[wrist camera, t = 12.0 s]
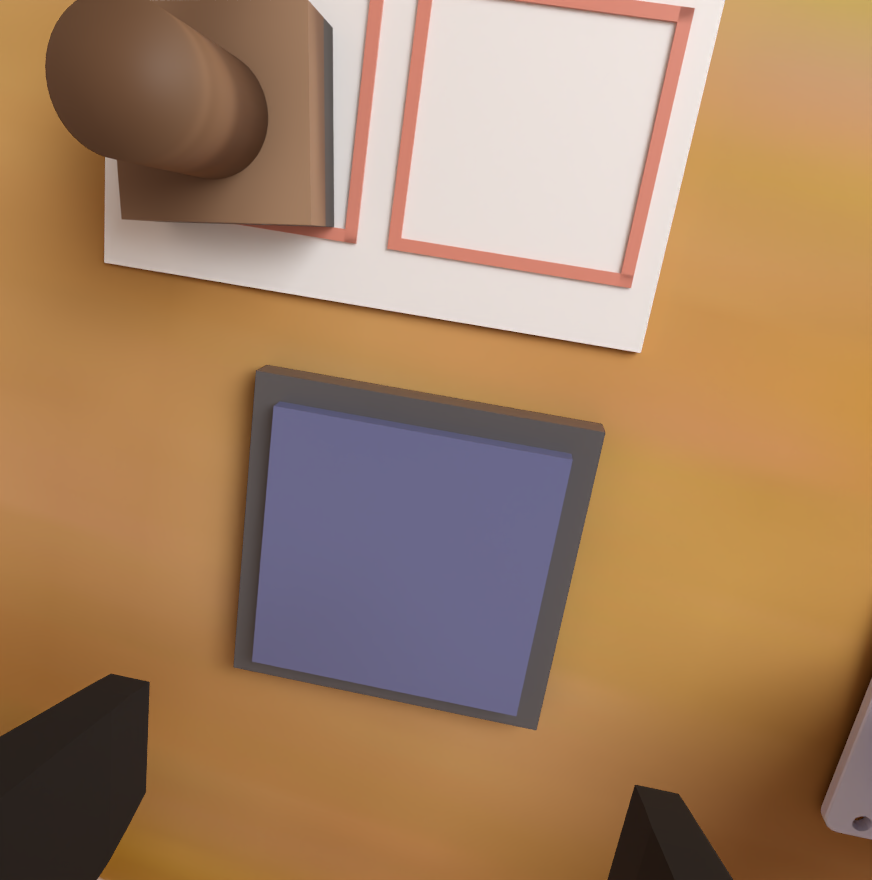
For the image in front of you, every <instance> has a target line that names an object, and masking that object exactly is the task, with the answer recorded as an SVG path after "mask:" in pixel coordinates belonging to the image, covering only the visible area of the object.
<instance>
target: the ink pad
mask: <svg viewBox="0 0 872 880" xmlns="http://www.w3.org/2000/svg"><path fill="white" fill-rule="evenodd" d="M604 436H605V430H604V428H603V425H602V424H599V423H594V422H588V421H582V420H577V419H571V418H565V417H560V416H554V415H548V414H543V413H537V412H531V411H526V410H520V409H514V408H509V407H503V406H497V405H492V404H486V403H480V402H475V401H469V400H463V399H458V398H452V397H446V396H440V395H435V394H429V393H423V392H418V391H412V390H406V389H401V388H395V387H389V386H384V385H378V384H372V383H367V382H361V381H355V380H350V379H344V378H338V377H333V376H327V375H321V374H316V373H310V372H304V371H299V370H293V369H287V368H282V367H276V366H270V365H266V366H264V367H262V368H260V369H258V370H256V379H255V392H254V405H253V418H252V431H251V445H250V458H249V471H248V484H247V497H246V511H245V524H244V537H243V550H242V563H241V576H240V590H239V603H238V616H237V629H236V642H235V656H234V667H235V668H240V669H244V670H249V671H254V672H259V673H264V674H268V675H273V676H278V677H283V678H288V679H292V680H297V681H302V682H307V683H312V684H316V685H321V686H326V687H331V688H336V689H340V690H345V691H350V692H355V693H360V694H365V695H369V696H374V697H379V698H384V699H389V700H393V701H398V702H403V703H408V704H413V705H417V706H422V707H427V708H432V709H437V710H441V711H446V712H451V713H456V714H461V715H465V716H470V717H475V718H480V719H485V720H489V721H494V722H499V723H504V724H509V725H513V726H518V727H523V728H528V729H533V730H537V725H538V721H539V717H540V712H541V708H542V704H543V699H544V695H545V691H546V686H547V682H548V678H549V673H550V669H551V665H552V660H553V656H554V652H555V648H556V643H557V639H558V635H559V630H560V626H561V622H562V617H563V613H564V609H565V604H566V600H567V596H568V591H569V587H570V583H571V578H572V574H573V570H574V566H575V561H576V557H577V553H578V548H579V544H580V540H581V535H582V531H583V527H584V522H585V518H586V514H587V509H588V505H589V501H590V497H591V492H592V488H593V484H594V479H595V475H596V471H597V466H598V462H599V458H600V453H601V449H602V445H603V440H604Z"/></svg>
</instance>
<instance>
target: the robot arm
mask: <svg viewBox="0 0 872 880" xmlns="http://www.w3.org/2000/svg"><path fill="white" fill-rule="evenodd" d="M149 684H150V682H147V681H143V680H138V679H133V678H128V677H124V676H119V675H114V674H110V675H108V676H106V677H104V678H102V679H100V680H98V681H97V682H95V683H93V684H91V685H89V686H88V687H86V688H84V689H82V690H81V691H79V692H77V693H75V694H74V695H72V696H70V697H69V698H67V699H65V700H63V701H62V702H60V703H58V704H56V705H55V706H53V707H51V708H50V709H48V710H46V711H44V712H43V713H41V714H39V715H38V716H36V717H34V718H32V719H31V720H29V721H27V722H25V723H24V724H22V725H20V726H18V727H16V728H15V729H13V730H11V731H9V732H8V733H6V734H4V735H2V736H1V737H0V880H97V879H98V877H99V876H100V874H101V873H102V871H103V870H104V868H105V867H106V865H107V863H108V862H109V860H110V859H111V857H112V855H113V853H114V851H115V849H116V848H117V846H118V844H119V842H120V840H121V838H122V837H123V835H124V833H125V831H126V829H127V827H128V825H129V824H130V822H131V820H132V818H133V816H134V814H135V812H136V810H137V808H138V806H139V804H140V802H141V800H142V798H143V797H144V795H145V793H146V770H147V741H148V713H149ZM821 814H822V817H823V819H824V821H825V823H826V825H827V826H828V827H829V828H830V829H831V830H833V831H836V832H838V833H843V834H848V835H852V836H857V837H862V838H867V839H871V840H872V679H871V681H870V684H869V686H868V689H867V691H866V694H865V697H864V699H863V702H862V704H861V707H860V709H859V712H858V714H857V717H856V720H855V722H854V725H853V727H852V730H851V732H850V735H849V737H848V740H847V743H846V745H845V748H844V750H843V753H842V755H841V758H840V760H839V763H838V766H837V768H836V771H835V773H834V776H833V778H832V781H831V783H830V786H829V789H828V791H827V794H826V796H825V799H824V801H823V804H822V806H821ZM860 816H864V817H863V818H862V819H860V820H854V819H855V818H857V817H860ZM608 880H733V879H732V877H731V875H730V874H729V872H728V871H727V869H726V868H725V866H724V865H723V863H722V861H721V860H720V858H719V857H718V855H717V854H716V852H715V850H714V849H713V847H712V846H711V844H710V842H709V841H708V839H707V838H706V836H705V834H704V833H703V831H702V830H701V828H700V827H699V825H698V823H697V822H696V820H695V819H694V817H693V815H692V814H691V812H690V811H689V809H688V808H687V806H686V805H685V803H684V801H683V800H682V798H681V797H680V795H679V794H677V793H672V792H667V791H662V790H658V789H653V788H648V787H644V786H639V785H635V787H634V790H633V794H632V797H631V800H630V804H629V807H628V811H627V814H626V818H625V821H624V825H623V828H622V832H621V835H620V838H619V842H618V845H617V849H616V852H615V856H614V859H613V863H612V866H611V869H610V873H609V876H608Z"/></svg>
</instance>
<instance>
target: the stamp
mask: <svg viewBox="0 0 872 880" xmlns="http://www.w3.org/2000/svg"><path fill="white" fill-rule="evenodd" d="M45 68H46V80H47V87H48V91H49V94H50V98H51V101H52V103H53V106H54V108H55V110H56V112H57V114H58V116H59V118H60V120H61V121H62V123H63V124H64V126H65V127H66V128H67V130H68V131H69V132H70V133H71V134H72V135H73V136H74V137H75V138H76V139H77V140H78V141H79V142H80V143H81V144H83V145H84V146H85V147H87V148H88V149H90V150H91V151H93V152H95V153H97V154H99V155H102V156H104V157H107V158H111V159H115V160H117V170H118V182H119V194H120V206H121V218H122V219H125V220H140V221H155V222H178V223H211V224H245V225H278V226H312V227H334V131H333V28H332V26H331V25H330V24H329V23H328V22H327V21H326V20H325V18H324V17H323V16H322V15H321V14H320V13H319V12H318V10H317V9H316V8H315V7H314V6H313V5H312V4H311V2H310V1H309V0H77V1H75V2H74V3H73V4H72V5H71V6H69V7H68V8H67V9H66V11H65V12H64V13H63V14H62V15H61V17H60V18H59V20H58V21H57V23H56V25H55V27H54V29H53V31H52V33H51V36H50V39H49V43H48V47H47V53H46V64H45Z"/></svg>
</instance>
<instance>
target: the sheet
mask: <svg viewBox="0 0 872 880" xmlns="http://www.w3.org/2000/svg"><path fill="white" fill-rule="evenodd" d="M309 1H310V2H311V4H312V5H313V6H314V7H315V8H316V9H317V10H318V12H319V13H320V14H321V15H322V16H323V17H324V18H325V20H326V21H327V22H328V23H329V24H330V25H331V26H332V28H333V131H334V227H312V226H278V225H245V224H211V223H178V222H155V221H140V220H125V219H122V218H121V206H120V194H119V182H118V170H117V160H115V159H111V158H107V157H105V230H104V263H110V264H116V265H122V266H128V267H134V268H140V269H145V270H151V271H157V272H163V273H169V274H175V275H181V276H187V277H193V278H199V279H205V280H211V281H217V282H223V283H229V284H235V285H240V286H246V287H252V288H258V289H264V290H270V291H276V292H282V293H288V294H294V295H300V296H306V297H312V298H318V299H324V300H330V301H336V302H341V303H347V304H353V305H359V306H365V307H371V308H377V309H383V310H389V311H395V312H401V313H407V314H413V315H419V316H425V317H431V318H436V319H442V320H448V321H454V322H460V323H466V324H472V325H478V326H484V327H490V328H496V329H502V330H508V331H514V332H520V333H526V334H532V335H537V336H543V337H549V338H555V339H561V340H567V341H573V342H579V343H585V344H591V345H597V346H603V347H609V348H615V349H621V350H627V351H632V352H638V353H641V350H642V345H643V341H644V337H645V333H646V329H647V325H648V320H649V316H650V312H651V308H652V304H653V299H654V295H655V291H656V287H657V283H658V279H659V274H660V270H661V266H662V262H663V258H664V253H665V249H666V245H667V241H668V237H669V232H670V228H671V224H672V220H673V216H674V212H675V207H676V203H677V199H678V195H679V191H680V186H681V182H682V178H683V174H684V170H685V166H686V161H687V157H688V153H689V149H690V145H691V140H692V136H693V132H694V128H695V124H696V120H697V115H698V111H699V107H700V103H701V99H702V94H703V90H704V86H705V82H706V78H707V73H708V69H709V65H710V61H711V57H712V53H713V48H714V44H715V40H716V36H717V32H718V27H719V23H720V19H721V15H722V11H723V7H724V2H725V0H309Z"/></svg>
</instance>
